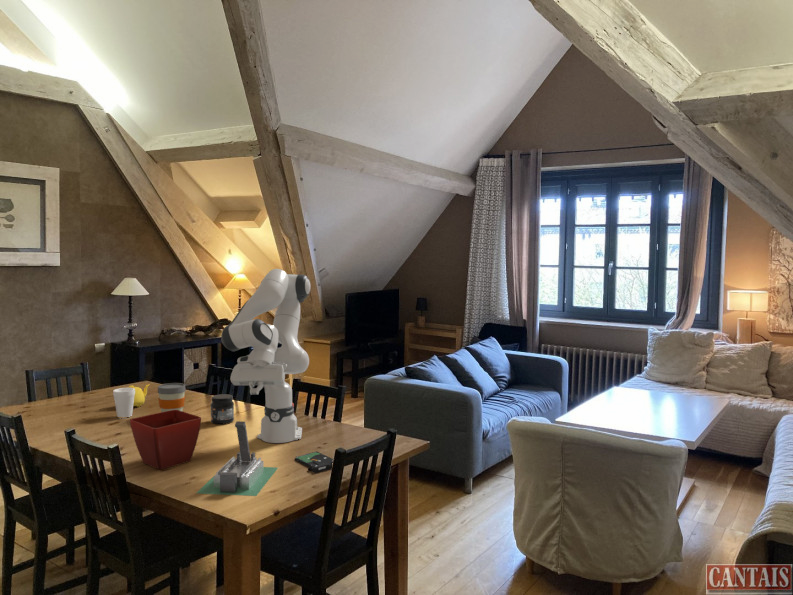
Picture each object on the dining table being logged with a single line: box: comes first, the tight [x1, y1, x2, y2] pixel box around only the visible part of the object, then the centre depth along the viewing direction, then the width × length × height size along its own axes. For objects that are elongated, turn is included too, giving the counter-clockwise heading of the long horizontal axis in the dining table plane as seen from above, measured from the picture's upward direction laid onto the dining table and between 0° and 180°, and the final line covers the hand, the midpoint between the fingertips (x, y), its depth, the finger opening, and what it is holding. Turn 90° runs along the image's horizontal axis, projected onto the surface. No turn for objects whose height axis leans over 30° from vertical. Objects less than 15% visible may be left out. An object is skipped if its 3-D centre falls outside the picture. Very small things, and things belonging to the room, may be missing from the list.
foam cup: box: [112, 387, 135, 419], centre depth 290 cm, size 10×9×13 cm
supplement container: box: [210, 393, 235, 425], centre depth 283 cm, size 10×10×12 cm
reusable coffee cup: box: [157, 382, 186, 413], centre depth 291 cm, size 13×13×15 cm
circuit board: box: [195, 466, 279, 497], centre depth 209 cm, size 26×20×1 cm
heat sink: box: [213, 451, 264, 493], centre depth 207 cm, size 20×12×7 cm, turn 175°
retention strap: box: [234, 420, 251, 461], centre depth 212 cm, size 17×3×2 cm
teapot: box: [128, 383, 151, 408], centre depth 309 cm, size 18×11×11 cm, turn 135°
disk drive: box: [294, 451, 334, 474], centre depth 227 cm, size 10×3×15 cm
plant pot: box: [129, 410, 202, 470], centre depth 228 cm, size 19×19×17 cm
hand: (253, 393), depth 223 cm, fingers closed
